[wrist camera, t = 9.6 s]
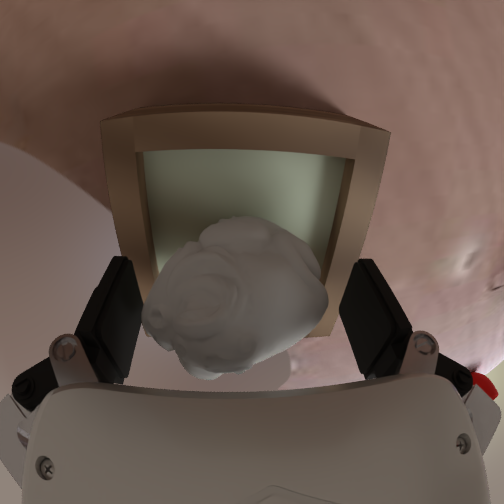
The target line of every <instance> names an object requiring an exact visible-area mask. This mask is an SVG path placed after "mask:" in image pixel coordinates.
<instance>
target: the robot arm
mask: <svg viewBox="0 0 504 504" xmlns="http://www.w3.org/2000/svg"><path fill="white" fill-rule="evenodd" d="M143 305H144V304H143V300H142V297H141V293H140V289H139V286H138V282H137V278H136V274H135V270H134V266H133V262H132V260H129V259H128V257H127V256H114V257H113V258H112V260H111V262H110V264H109V266H108V267H107V270H106V271H105V273H104V275H103V277H102V279H101V281H100V283H99V285H98V287H96V288H95V290H94V291H93V293H92V295H91V297H90V300H89V302H88V304H87V306H86V308H85V310H84V312H83V315H82V317H81V319H80V321H79V324H78V326H77V328H76V331H75V333H74V335H73V334H63V335H60V336H59V337H57V338H56V339H55V340H54V341H53V342H52V343H51V345H50V348H49V357H48V358H46V359H44V360H43V361H41V362H39V363H38V364H36V365H34V366H33V367H31V368H30V369H28V370H26V371H25V372H23V373H21V374H20V375H18V376H17V377H16V379H15V380H14V382H13V385H12V394H11V395H9V394H7V395H6V397H4V399H3V400H2V401H1V402H0V459H1V461H2V463H3V464H4V465H5V467H6V468H7V470H8V471H9V473H10V474H11V475H12V477H13V478H14V480H15V481H16V482H17V483H18V485H19V486H20V487H21V489H22V504H491V503H490V494H489V487H488V481H487V475H486V470H485V465H484V461H483V457H482V456H483V454H484V453H485V451H486V449H487V447H488V445H489V443H490V441H491V439H492V437H493V435H494V433H495V431H496V429H497V426H498V424H499V422H500V419H501V411H500V408H499V406H498V405H497V404H496V403H495V402H494V401H493V400H492V399H491V398H490V397H489V396H488V395H487V394H486V393H485V392H484V391H483V390H482V389H481V388H480V387H479V386H478V385H477V384H475V385H473V377H472V375H471V373H470V371H469V370H468V369H467V368H466V367H464V366H462V365H461V364H459V363H457V362H455V361H453V360H452V359H450V358H448V357H446V356H444V355H442V354H441V353H439V345H438V342H437V341H436V339H435V338H434V337H433V336H432V335H431V334H429V333H428V332H425V331H416V332H414V333H413V331H412V326H411V324H410V322H409V320H408V318H407V316H406V315H405V313H404V311H403V309H402V307H401V306H400V304H399V302H398V300H397V299H396V297H395V295H394V294H393V292H392V290H391V288H390V287H389V285H388V283H387V282H386V280H385V279H384V277H383V275H382V274H381V272H380V270H379V269H378V267H377V266H376V264H375V263H374V261H373V260H372V259H359V260H358V261H357V262H355V263H354V265H353V268H352V271H351V274H350V277H349V280H348V283H347V286H346V288H345V291H344V294H343V297H342V299H341V302H340V305H339V314H340V317H341V320H342V322H343V325H344V328H345V330H346V333H347V336H348V339H349V342H350V344H351V347H352V350H353V353H354V356H355V359H356V362H357V365H358V368H359V371H360V373H361V374H364V377H365V380H364V381H357V382H351V383H345V384H338V385H331V386H323V387H314V388H304V389H293V390H279V391H259V392H199V391H179V390H166V389H154V388H144V387H135V386H126V385H118V384H123V382H124V378H127V377H128V375H129V371H130V366H131V362H132V358H133V354H134V350H135V345H136V341H137V338H138V334H139V330H140V326H141V323H142V321H141V313H142V309H143ZM374 378H375V379H374ZM368 379H370V380H368ZM114 383H117V384H114Z"/></svg>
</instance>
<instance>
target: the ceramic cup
mask: <svg viewBox="0 0 504 504" xmlns="http://www.w3.org/2000/svg"><path fill="white" fill-rule="evenodd" d="M471 375H472V377H473V385H475V384H477V385H478V386H479V387H480V388H481V389H482V390H483V391H484V392H485V393H486V394H487V395H488V396H489V397H490V398H491V399H492V400H494V399H495V398H496V397H497V396H498V392H497V390H496V389H495V386H494V385H493V383H492V382H491V381H490V380H489V378H487V377H486V376H485V375H483V374H480V373H476V372H471Z"/></svg>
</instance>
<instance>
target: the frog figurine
mask: <svg viewBox="0 0 504 504" xmlns="http://www.w3.org/2000/svg"><path fill="white" fill-rule="evenodd" d="M320 276H321V270H320V266H319V264H318V262H317V260H316V257H315V256H314V254H313V252H312V250H311V248H310V247H309V245H308V244H307V243H306V242H304V241H303V240H301V239H299V238H298V237H296V236H295V235H293V234H292V233H290V232H289V231H287V230H285V229H283V228H281V227H280V226H278V225H276V224H275V223H273V222H271V221H268V220H266V219H262V218H258V217H252V216H241V217H235V216H232V218H230V219H220V220H219V221H218V223H216V224H212V225H210V226H209V227H207V228H206V229H204V230H203V232H202V233H201V234H200V237H199V241H198V242H193V241H189V242H187V243H186V244H185V245H184V247H183V248H178V250H177V251H176V252H175V253H174V255H173V256H172V257H171V258H170V259H169V260H168V261H167V262H166V263H165V265H164V266H163V268H162V270H161V272H160V273H159V275H158V277H157V279H156V281H155V282H154V284H153V286H152V288H151V290H150V292H149V294H148V296H147V298H146V301H145V303H144V305H143V309H142V313H141V321H142V325H143V328H144V329H145V331H146V333H147V334H148V335H149V336H151V337H153V338H154V340H155V341H156V342H157V343H158V344H159V345H160V346H162V347H163V348H164V349H166V350H167V351H172V350H175V351H176V353H177V355H178V357H179V360H180V362H181V364H182V365H183V367H184V368H185V370H186V371H187V372H188V373H189V374H191V375H192V376H194V377H196V378H199V379H206V380H213V379H216V378H217V377H219V376H220V375H221V374H222V373H232V372H234V373H236V374H242V373H243V372H245V370H248V369H251V368H252V365H253V364H256V363H258V362H262V361H263V360H265V359H267V358H269V357H272V356H273V355H275V354H277V353H280V352H282V351H284V350H286V349H288V348H290V347H291V346H292V345H294V344H296V343H297V342H298V341H300V340H301V339H302V338H304V337H306V335H307V334H308V333H310V332H311V331H312V329H314V328H315V327H316V325H317V324H319V322H320V320H321V319H322V317H323V315H324V313H325V311H326V309H327V308H328V304H329V299H328V293H327V291H326V289H325V287H324V286H323V284H322V283H321V282H320V281H319V279H320Z"/></svg>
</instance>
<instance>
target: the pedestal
mask: <svg viewBox="0 0 504 504" xmlns="http://www.w3.org/2000/svg"><path fill="white" fill-rule="evenodd" d="M100 128H101V139H102V149H103V158H104V166H105V173H106V180H107V187H108V193H109V199H110V204H111V210H112V215H113V219H114V224H115V229H116V234H117V238H118V243H119V247H120V251H121V255H122V256H127V257H128V259H129V260H132V262H133V266H134V270H135V274H136V278H137V282H138V286H139V289H140V293H141V297H142V300H143V304H144V303H145V301H146V298H147V296H148V294H149V292H150V290H151V288H152V286H153V284H154V282H155V281H156V279H157V277H158V275H159V273H160V272H161V270H162V268H163V266H164V265H165V263H166V262H167V261H168V260H169V259H170V258H171V257H172V256H173V255H174V253H175V252H176V251H177V250H178V248H183V247H184V245H185V244H186V243H187V242H189V241H193V242H198V241H199V237H200V234H201V233H202V232H203V230H204V229H206V228H207V227H209V226H210V225H212V224H216V223H218V221H219V220H220V219H230V218H232V216H235V217H241V216H252V217H258V218H262V219H266V220H268V221H271V222H273V223H275V224H276V225H278V226H280V227H281V228H283V229H285V230H287V231H289V232H290V233H292V234H293V235H295V236H296V237H298V238H299V239H301V240H303V241H304V242H306V243H307V244H308V245H309V247H310V248H311V250H312V252H313V254H314V256H315V257H316V260H317V262H318V264H319V266H320V270H321V276H320V279H319V281H320V282H321V283H322V284H323V286H324V287H325V289H326V291H327V293H328V299H329V304H328V308H327V309H326V311H325V313H324V315H323V317H322V319H321V320H320V322H319V324H317V325H316V327H315V328H314V329H312V331H311V332H310V333H308V334H307V335H306V337H304V338H308V337H322V336H330V334H331V332H332V329H333V327H334V324H335V322H336V320H337V317H338V315H339V305H340V302H341V299H342V297H343V294H344V291H345V288H346V286H347V283H348V280H349V277H350V274H351V271H352V268H353V265H354V263H355V262H357V261H358V259H359V256H360V253H361V250H362V247H363V244H364V241H365V237H366V234H367V231H368V227H369V224H370V220H371V217H372V213H373V209H374V206H375V202H376V198H377V194H378V190H379V186H380V182H381V178H382V174H383V169H384V165H385V160H386V155H387V150H388V145H389V140H390V135H391V132H389V131H386V130H384V129H382V128H379V127H377V126H374V125H372V124H369V123H367V122H364V121H361V120H359V119H356V118H353V117H350V116H347V115H343V114H337V113H331V112H324V111H318V110H310V109H302V108H294V107H284V106H272V105H257V104H230V103H204V104H178V105H163V106H151V107H142V108H137V109H134V110H131V111H128V112H125V113H122V114H119V115H116V116H113V117H110V118H107V119H104V120H102V121H100ZM144 331H145V329H144ZM145 334H146V336H148V337H151V336H149V335H148V334H147V333H146V331H145Z"/></svg>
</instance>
